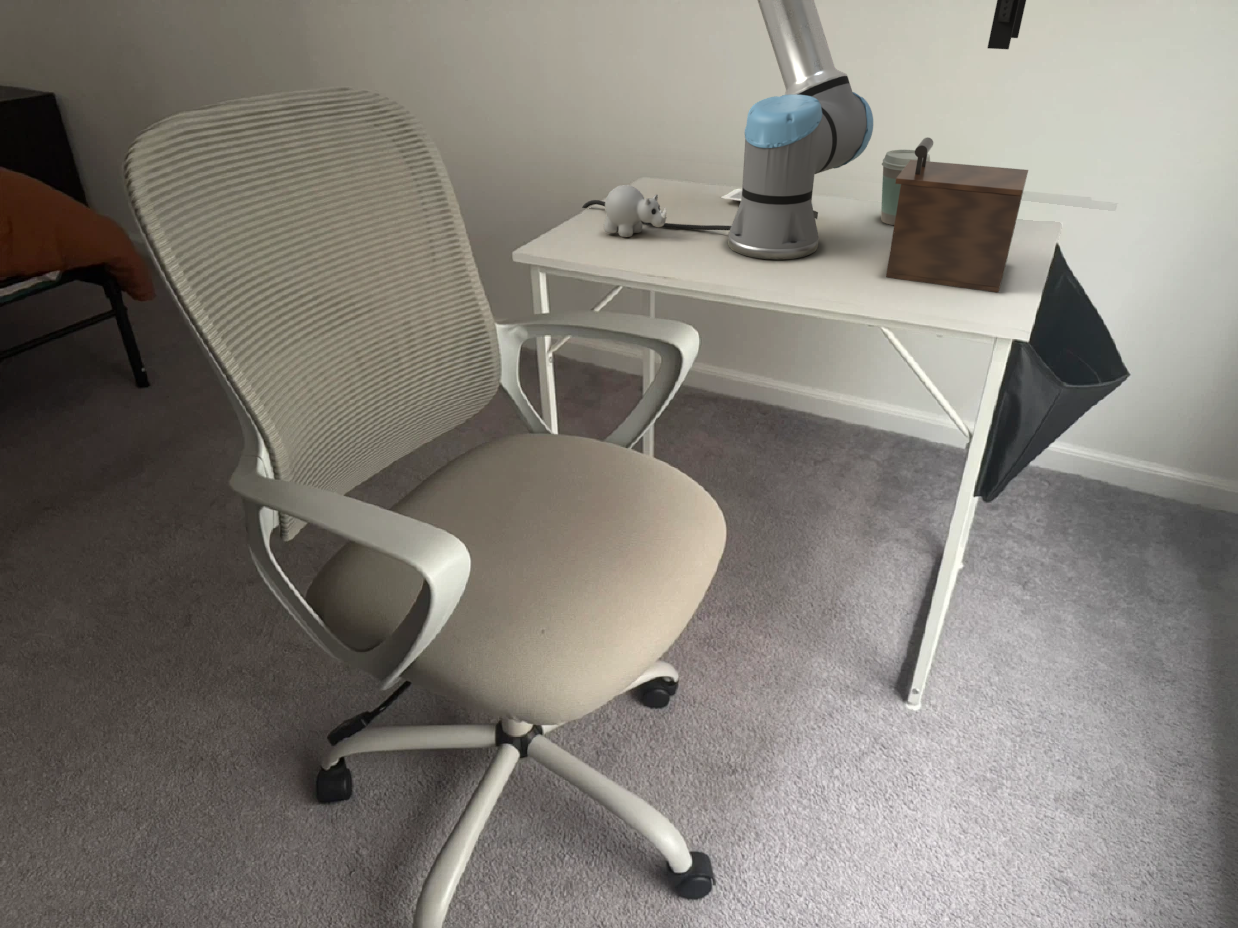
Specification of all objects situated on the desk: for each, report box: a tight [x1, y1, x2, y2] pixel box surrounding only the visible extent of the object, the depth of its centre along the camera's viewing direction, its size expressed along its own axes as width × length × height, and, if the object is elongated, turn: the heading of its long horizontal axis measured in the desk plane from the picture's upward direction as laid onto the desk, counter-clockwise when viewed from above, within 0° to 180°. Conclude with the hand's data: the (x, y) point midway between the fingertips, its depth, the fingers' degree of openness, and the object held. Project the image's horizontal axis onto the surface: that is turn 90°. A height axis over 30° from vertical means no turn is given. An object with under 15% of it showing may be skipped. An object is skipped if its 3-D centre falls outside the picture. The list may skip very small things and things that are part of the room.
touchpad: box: [720, 188, 742, 202], centre depth 169 cm, size 8×15×2 cm, turn 59°
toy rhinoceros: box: [603, 184, 668, 238], centre depth 151 cm, size 7×12×8 cm, turn 57°
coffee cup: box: [880, 149, 932, 226], centre depth 156 cm, size 8×8×12 cm
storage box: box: [885, 180, 1027, 293], centre depth 132 cm, size 17×13×14 cm
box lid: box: [895, 137, 1029, 197], centre depth 127 cm, size 17×13×5 cm
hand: (1003, 43), depth 123 cm, fingers open, 13 cm apart
